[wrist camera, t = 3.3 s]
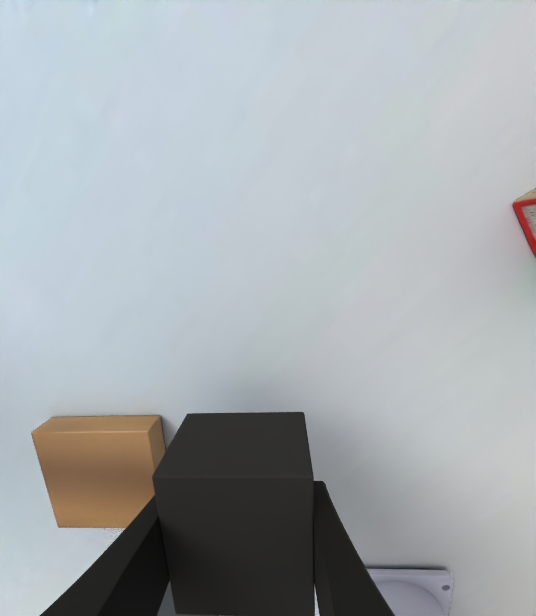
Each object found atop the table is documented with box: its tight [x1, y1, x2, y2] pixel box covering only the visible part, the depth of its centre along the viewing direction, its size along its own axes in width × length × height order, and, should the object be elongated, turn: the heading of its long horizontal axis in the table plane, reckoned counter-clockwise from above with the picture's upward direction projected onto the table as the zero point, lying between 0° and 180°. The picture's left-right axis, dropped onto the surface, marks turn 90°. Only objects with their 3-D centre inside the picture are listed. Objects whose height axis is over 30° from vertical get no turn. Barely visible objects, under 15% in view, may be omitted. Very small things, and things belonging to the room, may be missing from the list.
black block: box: [152, 412, 315, 616], centre depth 10 cm, size 6×5×3 cm
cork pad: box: [31, 415, 166, 528], centre depth 16 cm, size 7×7×2 cm
